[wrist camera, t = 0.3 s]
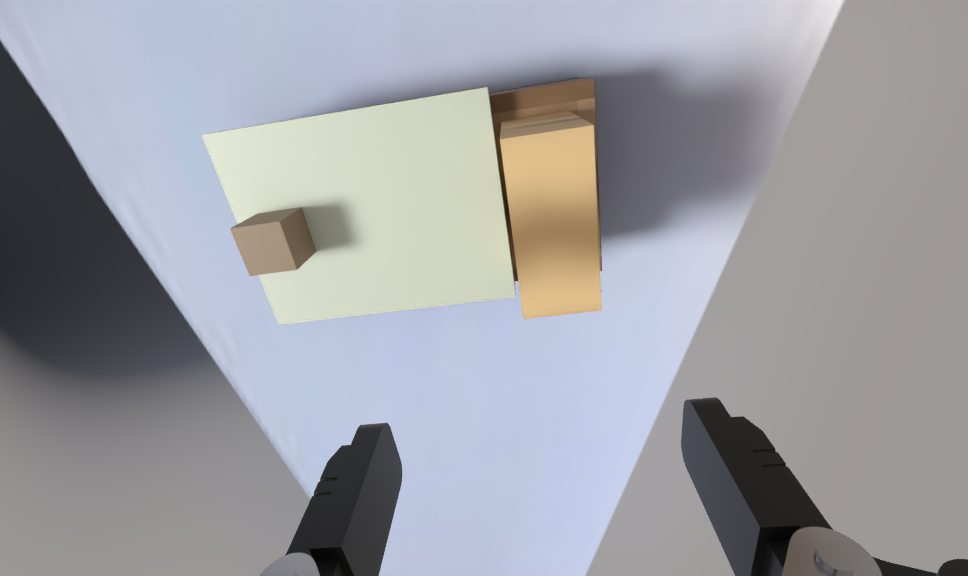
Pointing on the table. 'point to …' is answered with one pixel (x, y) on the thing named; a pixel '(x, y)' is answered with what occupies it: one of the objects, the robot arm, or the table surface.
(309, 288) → the lid
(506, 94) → the wooden box
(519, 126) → the key
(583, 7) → the table surface
